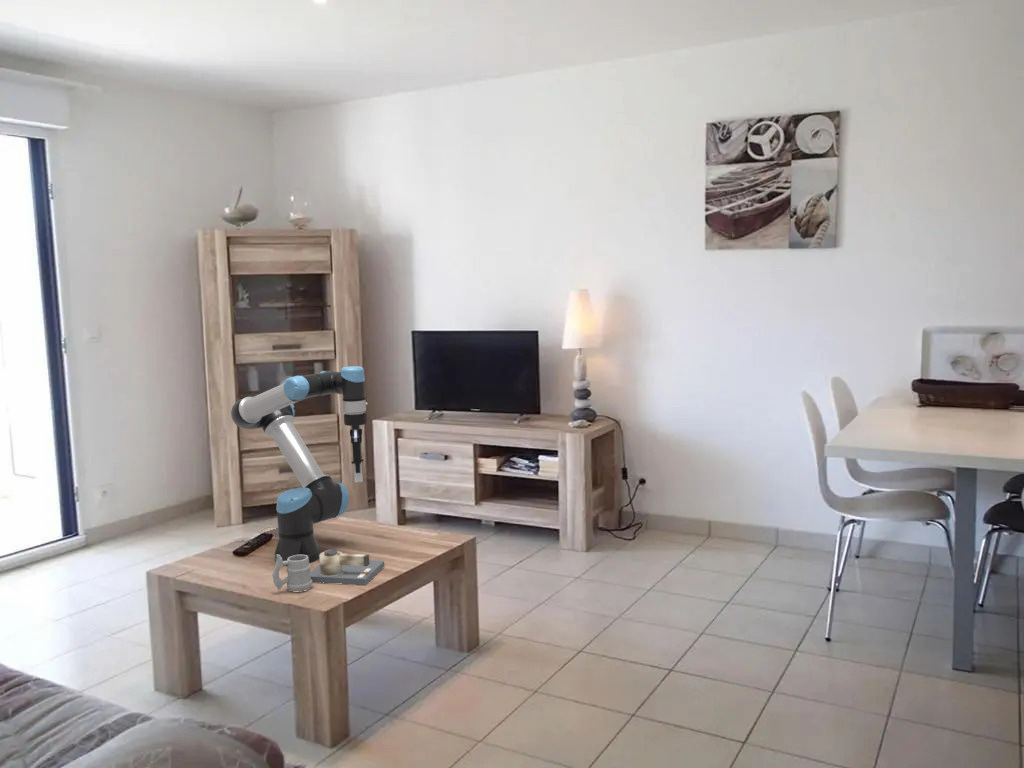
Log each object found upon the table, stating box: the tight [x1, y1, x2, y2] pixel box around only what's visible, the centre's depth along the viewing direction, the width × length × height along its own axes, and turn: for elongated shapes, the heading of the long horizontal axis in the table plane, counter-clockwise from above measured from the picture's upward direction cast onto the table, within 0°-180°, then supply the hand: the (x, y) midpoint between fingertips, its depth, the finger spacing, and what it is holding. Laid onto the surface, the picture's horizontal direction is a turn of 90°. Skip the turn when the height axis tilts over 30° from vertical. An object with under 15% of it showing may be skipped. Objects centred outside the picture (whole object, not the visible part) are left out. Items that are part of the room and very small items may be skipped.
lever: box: [319, 548, 370, 575], centre depth 268 cm, size 16×7×7 cm, turn 77°
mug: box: [272, 554, 313, 593], centre depth 260 cm, size 8×12×12 cm, turn 119°
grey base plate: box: [310, 559, 385, 586], centre depth 273 cm, size 20×17×2 cm
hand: (358, 481), depth 286 cm, fingers closed
